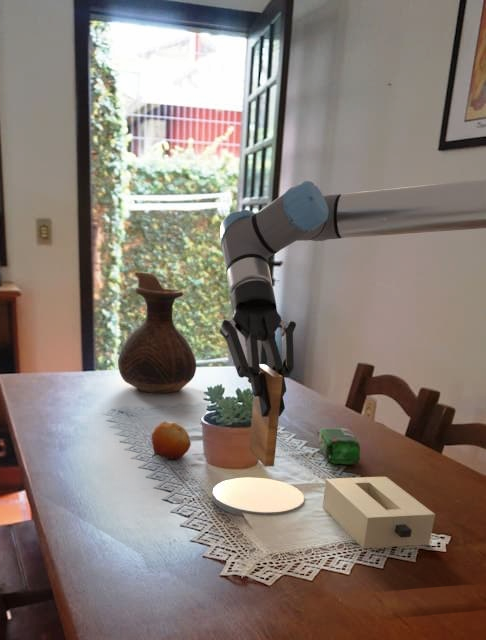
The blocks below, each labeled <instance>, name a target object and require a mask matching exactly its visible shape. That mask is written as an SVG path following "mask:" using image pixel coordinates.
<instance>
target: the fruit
mask: <svg viewBox="0 0 486 640" xmlns="http://www.w3.org/2000/svg"><path fill="white" fill-rule="evenodd" d="M151 443H152V450H153V455H152V456H151V458H154V457H156V456H160V457H162V458H164V459H168V460H173V461H177V460H179V459H181V458H182V457H183V456H184V455H185V454H187V453H188V452H189V450H190V448H191V439H190V434H189V433H188V431H187V430H186V428H185V427H183V426H182V425H179V424H178V423H176V422H169V421H162V422H161V423H159V424H158V425H156V427H155V428H154V429H153V432H152V434H151Z"/></svg>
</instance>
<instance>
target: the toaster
mask: <svg viewBox="0 0 486 640" xmlns="http://www.w3.org/2000/svg"><path fill="white" fill-rule="evenodd" d="M322 499H323V500H322V508H323V509H324V510H325V511H326V512H327V513H328V514H329V515H330V516H331V518H332V519H334V520H335V521H336V522H337V523H338V525H340V526H341V527H342V528H343V529H344V530H345V531H346V533H347V534H348V535H350V536H351V538H353V540H354V541H355V542H357V544H358V545H359V546H360V547H361V548H362V549H364V550H365V549H379V548H380V549H382V548H392V547H393V548H395V547H397V548H398V547H412V546H427V545H430V542H431V538H432V533H433V527H434V522H435V518H436V514H435V513H434V512H433V511H432V510H431V509H429V508H427V506H425V505H424V504H422V503H421V502H419V501H418V500H417V499H416V498H415V497H413V496H412V495H411V494H409V493H408V492H407V491H405V490H404V489H403V488H401V487H400V486H399V485H397V483H395V482H394V481H392V480H391V479H390V478H389V477H387V476H363V477H360V476H359V477H337V478H335V477H334V478H325V483H324V492H323V498H322Z"/></svg>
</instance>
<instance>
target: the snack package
mask: <svg viewBox="0 0 486 640" xmlns="http://www.w3.org/2000/svg"><path fill="white" fill-rule="evenodd" d="M317 435H318V441H319V442H318V443H319V446H320V449H321V451H322V453H323V456H324V458H325V459H326V460H327V462H329V463H331V464H333V465H346V466H347V465H349V466H351V465H355V464H356V463H358V462H359V461H360V459H361V458H360V457H361V456H360V455H361V446H360V443H359V441H358V440H357V438H356V436H355V435H354V433H353V432H352V431H351V430H350V429H349V428H348V429H347V428H340V427H323V428H321V429H320V430H319V431H317Z"/></svg>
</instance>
